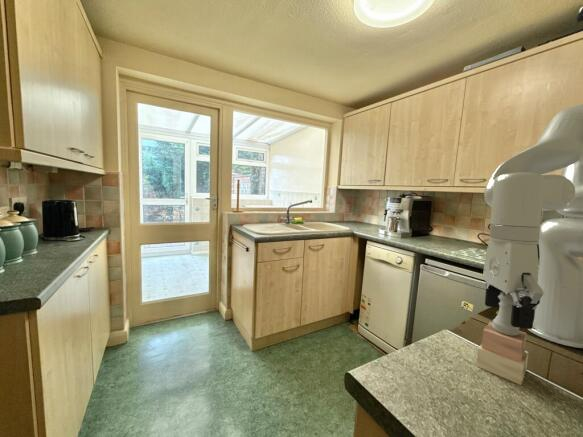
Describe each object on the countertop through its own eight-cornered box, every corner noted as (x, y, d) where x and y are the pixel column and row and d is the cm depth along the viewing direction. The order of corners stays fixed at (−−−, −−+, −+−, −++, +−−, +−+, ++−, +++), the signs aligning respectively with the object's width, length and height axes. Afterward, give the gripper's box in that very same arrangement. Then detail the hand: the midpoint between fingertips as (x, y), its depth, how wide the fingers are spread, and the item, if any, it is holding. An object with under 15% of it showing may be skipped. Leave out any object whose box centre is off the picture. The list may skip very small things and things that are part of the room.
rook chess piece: (525, 338, 49) (529, 299, 48) (499, 335, 50) (503, 296, 49) (510, 327, 53) (513, 291, 53) (486, 324, 54) (489, 289, 54)
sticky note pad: (485, 353, 57) (487, 320, 56) (526, 370, 52) (530, 333, 51) (476, 366, 52) (479, 329, 52) (521, 385, 47) (525, 344, 47)
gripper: (472, 229, 60) (467, 298, 61) (518, 238, 43) (509, 334, 44) (509, 231, 58) (503, 302, 59) (572, 241, 41) (561, 341, 42)
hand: (506, 316), depth 51 cm, fingers open, 9 cm apart
